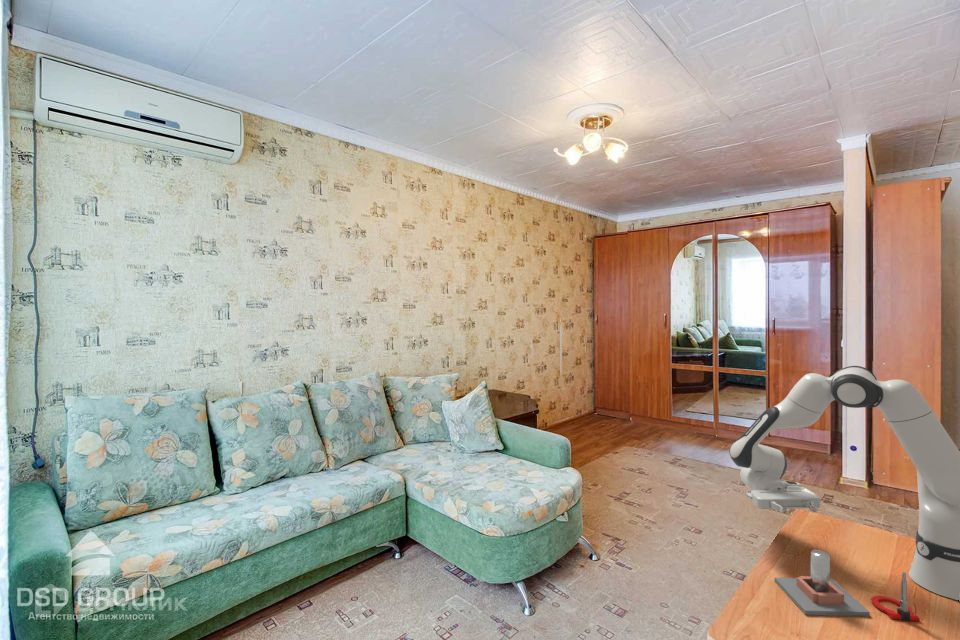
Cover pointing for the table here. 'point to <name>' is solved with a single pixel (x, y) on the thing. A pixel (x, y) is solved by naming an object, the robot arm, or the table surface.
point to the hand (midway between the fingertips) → (799, 510)
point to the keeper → (821, 598)
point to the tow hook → (904, 610)
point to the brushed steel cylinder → (820, 571)
